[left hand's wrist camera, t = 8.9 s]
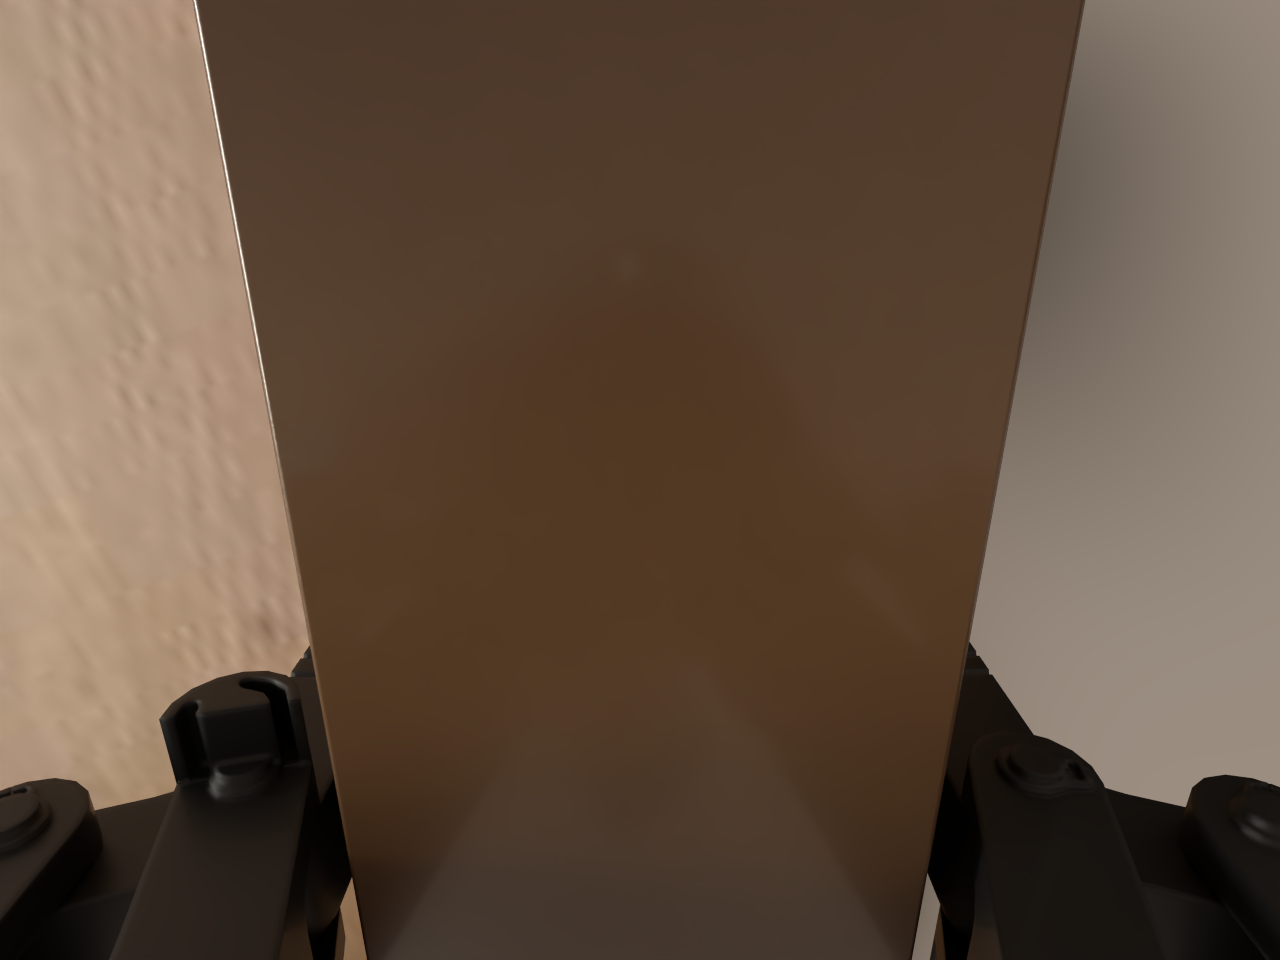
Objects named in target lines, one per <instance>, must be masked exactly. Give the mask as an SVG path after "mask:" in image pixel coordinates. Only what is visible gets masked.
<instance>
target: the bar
mask: <svg viewBox="0 0 1280 960" xmlns="http://www.w3.org/2000/svg"><path fill="white" fill-rule="evenodd" d="M1084 4H1085V0H193V5H194V10H195V16H196V21H197V27H198V32H199V38H200V43H201V49H202V54H203V60H204V65H205V71H206V76H207V82H208V87H209V93H210V98H211V104H212V109H213V115H214V120H215V126H216V131H217V137H218V142H219V148H220V153H221V159H222V164H223V170H224V175H225V181H226V186H227V192H228V197H229V203H230V208H231V214H232V219H233V225H234V230H235V236H236V241H237V247H238V252H239V258H240V263H241V269H242V274H243V280H244V285H245V291H246V296H247V302H248V307H249V313H250V318H251V324H252V329H253V335H254V340H255V346H256V351H257V357H258V362H259V368H260V373H261V379H262V384H263V390H264V395H265V401H266V406H267V412H268V417H269V423H270V428H271V434H272V439H273V445H274V450H275V456H276V461H277V466H278V472H279V477H280V483H281V488H282V494H283V499H284V505H285V510H286V516H287V521H288V527H289V532H290V538H291V543H292V549H293V554H294V560H295V565H296V571H297V576H298V582H299V587H300V593H301V598H302V604H303V609H304V615H305V620H306V626H307V631H308V637H309V642H310V648H311V653H312V659H313V664H314V670H315V675H316V681H317V686H318V692H319V697H320V703H321V708H322V714H323V719H324V725H325V730H326V736H327V741H328V747H329V752H330V758H331V763H332V769H333V774H334V780H335V785H336V791H337V796H338V802H339V807H340V813H341V818H342V824H343V829H344V835H345V840H346V846H347V851H348V857H349V862H350V868H351V873H352V879H353V884H354V890H355V895H356V901H357V906H358V912H359V917H360V923H361V928H362V934H363V939H364V945H365V950H366V956H367V960H912V954H913V949H914V943H915V938H916V932H917V927H918V921H919V916H920V910H921V905H922V899H923V894H924V888H925V882H926V877H927V872H928V866H929V861H930V855H931V850H932V844H933V838H934V833H935V827H936V822H937V816H938V811H939V805H940V800H941V794H942V789H943V783H944V778H945V772H946V767H947V761H948V756H949V750H950V745H951V739H952V734H953V728H954V722H955V717H956V711H957V706H958V700H959V695H960V689H961V684H962V678H963V673H964V667H965V662H966V656H967V651H968V645H969V640H970V634H971V628H972V623H973V618H974V612H975V606H976V601H977V595H978V590H979V584H980V579H981V573H982V568H983V562H984V557H985V551H986V546H987V540H988V535H989V529H990V524H991V518H992V513H993V507H994V501H995V496H996V490H997V485H998V479H999V474H1000V468H1001V463H1002V457H1003V452H1004V446H1005V441H1006V435H1007V430H1008V424H1009V419H1010V413H1011V408H1012V402H1013V397H1014V391H1015V385H1016V380H1017V374H1018V368H1019V363H1020V358H1021V352H1022V347H1023V341H1024V336H1025V330H1026V324H1027V319H1028V314H1029V308H1030V303H1031V297H1032V291H1033V286H1034V280H1035V275H1036V269H1037V264H1038V258H1039V253H1040V247H1041V242H1042V236H1043V231H1044V225H1045V220H1046V214H1047V209H1048V203H1049V197H1050V192H1051V187H1052V181H1053V176H1054V170H1055V164H1056V159H1057V153H1058V148H1059V142H1060V137H1061V131H1062V126H1063V120H1064V115H1065V109H1066V104H1067V98H1068V93H1069V87H1070V82H1071V76H1072V71H1073V65H1074V60H1075V54H1076V49H1077V43H1078V37H1079V32H1080V26H1081V21H1082V15H1083V10H1084Z"/></svg>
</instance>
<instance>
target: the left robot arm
mask: <svg viewBox="0 0 1280 960" xmlns="http://www.w3.org/2000/svg"><path fill="white" fill-rule="evenodd" d="M159 720H160V724H161V728H162V731H163V735H164V739H165V742H166V746H167V750H168V753H169V757H170V761H171V764H172V768H173V772H174V775H175V779H176V783H177V785H176V788H175V791H174V792H170V793H167V794H163V795H160V796H157V797H153V798H149V799H144V800H140V801H135V802H131V803H126V804H122V805H117V806H113V807H108V808H104V809H99V810H95V811H94V807H93V804H92V801H91V798H90V795H89V792H88V791H87V790H86V789H85V788H84V787H83V786H81V785H80V784H79V783H78V782H76V781H71V780H64V779H57V778H52V779H45V780H38V781H30V782H25V783H22V784H19V785H16V786H13V787H9V788H7V789H4V790H1V791H0V960H343V958H344V947H345V932H344V926H343V920H342V914H341V909H340V905H341V903H342V900H343V898H344V895H345V893H346V890H347V888H348V885H349V883H350V880H351V878H352V873H351V868H350V862H349V857H348V851H347V846H346V840H345V835H344V829H343V824H342V818H341V813H340V807H339V802H338V796H337V791H336V785H335V780H334V774H333V769H332V763H331V758H330V752H329V747H328V741H327V736H326V730H325V725H324V719H323V714H322V708H321V703H320V697H319V692H318V686H317V681H316V675H315V670H314V664H313V659H312V653H311V648H310V646H309V647H308V649H307V650H306V652H305V653H304V658H303V659H300V660H299V662H298V663H297V665H296V666H295V668H294V669H293V671H292V672H291V677H288V676H286V675H282V674H278V673H274V672H270V671H252V672H241V673H236V674H232V675H228V676H224V677H219V678H216V679H214V680H211V681H209V682H207V683H205V684H202V685H200V686H198V687H195V688H193V689H191V690H190V691H189V692H187V693H186V694H184V695H183V696H181V697H180V698H179V699H177V700H176V701H174V702H173V703H172V704H171V705H170V706H169V708H168V709H167V710H166V711H165V713H164V714H163V715H162V717H161V718H160V719H159ZM927 873H928V875H929V878H930V880H931V882H932V885H933V887H934V890H935V892H936V895H937V897H938V900H939V902H940V909H939V914H938V920H937V925H936V930H935V935H934V941H933V946H932V951H931V957H930V960H1280V787H1278V786H1275V785H1273V784H1268V783H1266V782H1263V781H1259V780H1256V779H1253V778H1246V777H1239V776H1231V775H1221V776H1214V777H1207V778H1204V779H1202V780H1201V781H1200V782H1199V783H1197V784H1196V785H1195V786H1194V787H1193V788H1192V790H1191V793H1190V796H1189V799H1188V802H1187V805H1186V807H1182V806H1177V805H1173V804H1168V803H1164V802H1159V801H1155V800H1150V799H1146V798H1141V797H1137V796H1132V795H1128V794H1124V793H1121V792H1117V791H1114V790H1110V789H1107V788H1105V787H1104V784H1103V782H1102V781H1101V779H1100V778H1099V776H1098V775H1097V773H1096V772H1095V770H1094V769H1093V767H1092V766H1091V765H1090V764H1088V763H1087V762H1086V761H1085V760H1083V759H1082V758H1081V757H1080V756H1078V755H1077V754H1076V753H1075V752H1073V751H1072V750H1070V749H1068V748H1066V747H1064V746H1062V745H1060V744H1058V743H1056V742H1054V741H1052V740H1050V739H1047V738H1043V737H1039V736H1036V735H1033V733H1032V732H1031V730H1030V729H1029V727H1028V726H1027V724H1026V723H1025V722H1024V720H1023V719H1022V717H1021V716H1020V714H1019V713H1018V711H1017V710H1016V709H1015V707H1014V706H1013V704H1012V703H1011V701H1010V700H1009V698H1008V697H1007V695H1006V694H1005V693H1004V691H1003V690H1002V688H1001V687H1000V685H999V684H998V682H997V681H996V680H995V678H994V677H993V675H989V669H988V668H987V667H986V665H985V664H984V662H983V661H982V659H981V658H980V656H976V651H975V649H974V648H973V646H972V645H971V643H970V642H969V645H968V651H967V656H966V662H965V667H964V673H963V678H962V684H961V689H960V695H959V700H958V706H957V711H956V717H955V722H954V728H953V734H952V739H951V745H950V750H949V756H948V761H947V767H946V772H945V778H944V783H943V789H942V794H941V800H940V805H939V811H938V816H937V822H936V827H935V833H934V838H933V844H932V850H931V855H930V861H929V866H928V872H927Z"/></svg>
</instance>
